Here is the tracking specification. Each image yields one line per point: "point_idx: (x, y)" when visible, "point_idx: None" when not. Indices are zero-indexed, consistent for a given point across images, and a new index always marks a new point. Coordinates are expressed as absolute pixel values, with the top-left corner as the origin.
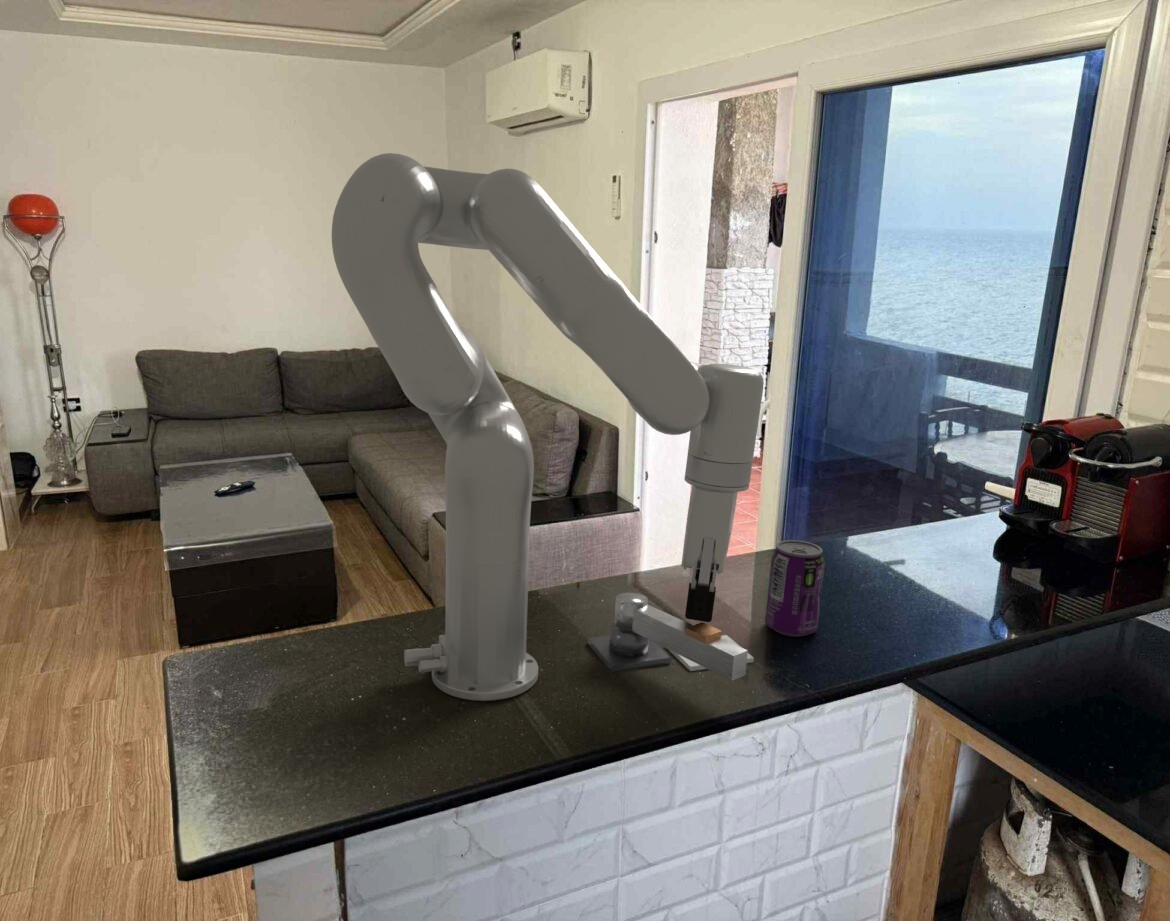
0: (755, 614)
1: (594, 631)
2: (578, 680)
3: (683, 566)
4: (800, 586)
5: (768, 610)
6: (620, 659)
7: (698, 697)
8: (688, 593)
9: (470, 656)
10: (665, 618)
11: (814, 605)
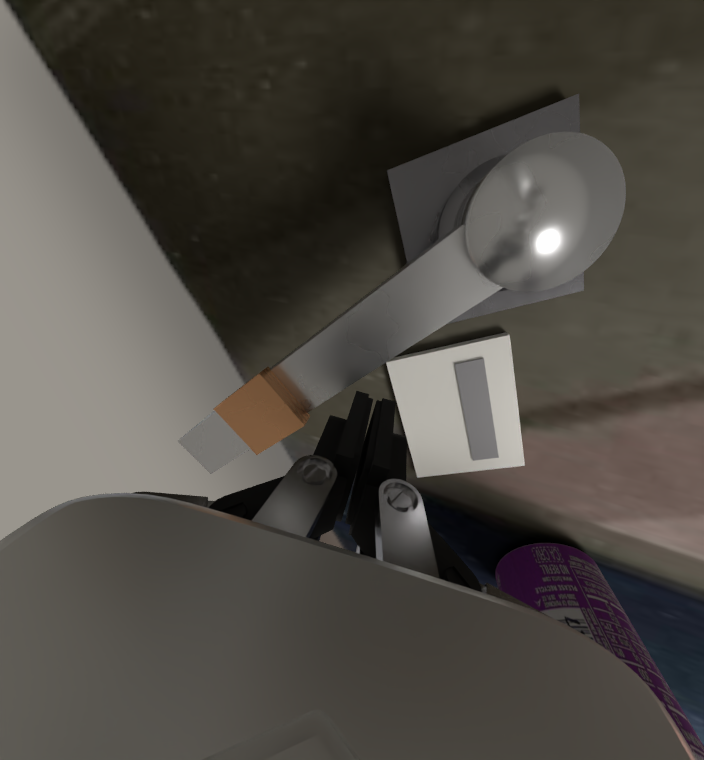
0: (629, 543)
1: (661, 129)
2: (343, 69)
3: (64, 503)
4: None
5: (565, 572)
6: (420, 200)
7: (290, 350)
8: (341, 438)
9: None
10: (374, 331)
11: None
